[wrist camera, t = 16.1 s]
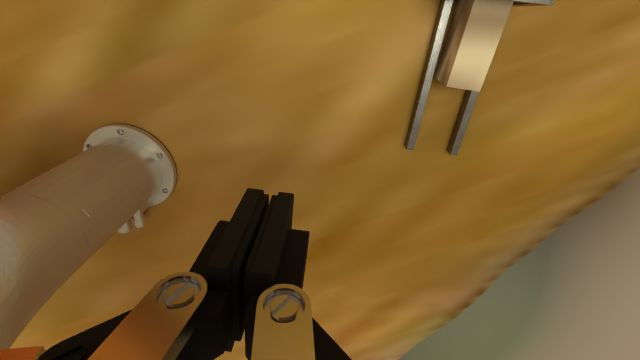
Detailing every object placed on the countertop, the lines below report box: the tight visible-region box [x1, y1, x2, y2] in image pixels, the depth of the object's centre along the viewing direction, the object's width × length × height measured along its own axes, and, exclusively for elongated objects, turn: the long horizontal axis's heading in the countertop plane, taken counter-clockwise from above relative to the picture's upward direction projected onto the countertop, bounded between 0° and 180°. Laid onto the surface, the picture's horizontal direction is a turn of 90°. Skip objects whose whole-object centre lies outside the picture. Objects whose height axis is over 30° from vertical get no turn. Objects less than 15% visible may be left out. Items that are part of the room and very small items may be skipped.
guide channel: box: [405, 0, 478, 156], centre depth 36 cm, size 16×6×2 cm, turn 174°
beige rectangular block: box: [434, 0, 514, 92], centre depth 32 cm, size 12×4×5 cm, turn 172°
